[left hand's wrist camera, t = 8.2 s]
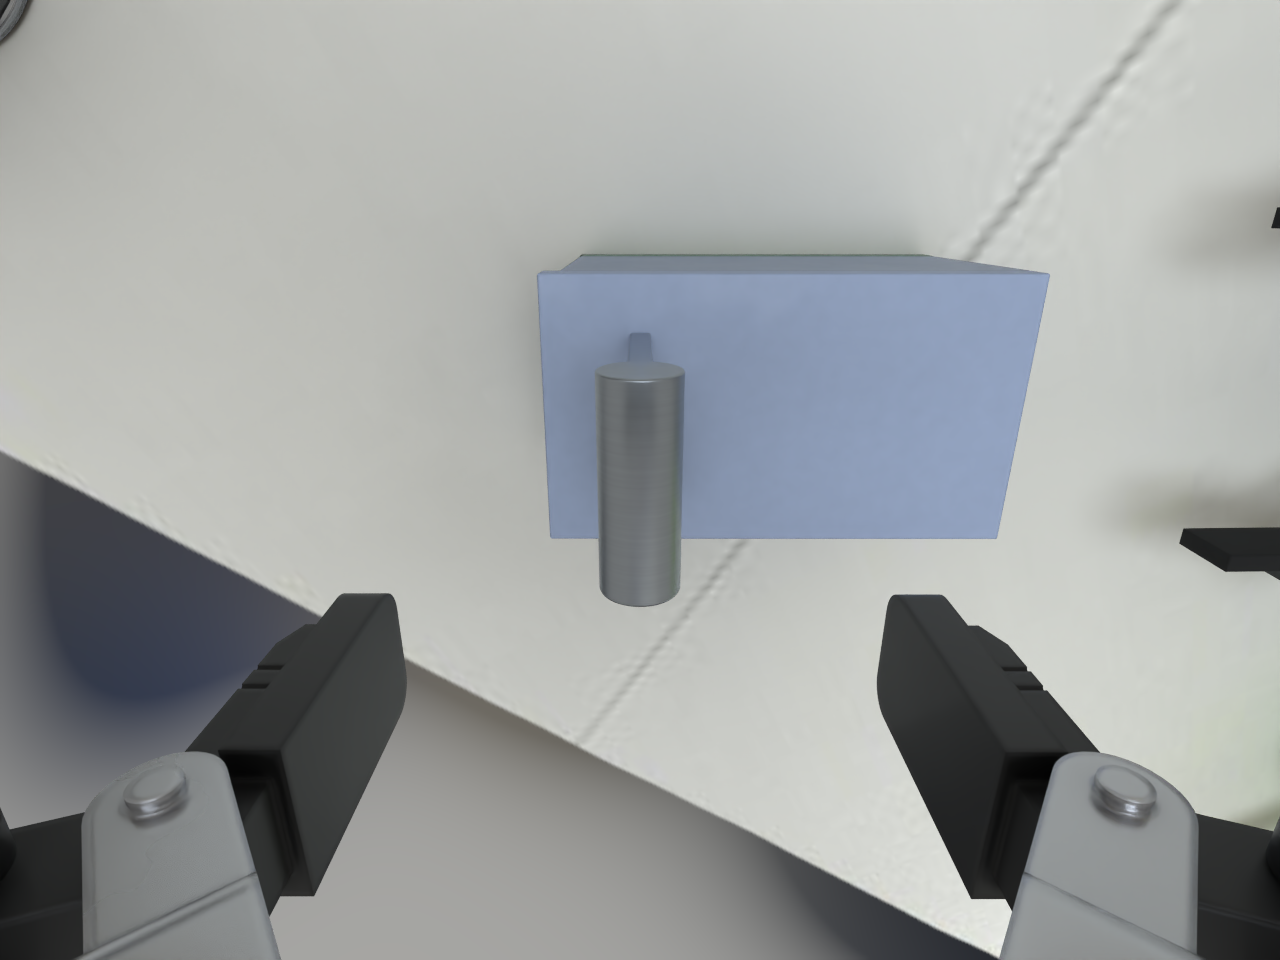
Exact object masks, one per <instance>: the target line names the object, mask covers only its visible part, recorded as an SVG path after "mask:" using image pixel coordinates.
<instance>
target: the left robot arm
mask: <svg viewBox="0 0 1280 960" xmlns="http://www.w3.org/2000/svg"><path fill="white" fill-rule="evenodd" d="M26 3H27V0H0V41H1V40H2V39H3V38H4V37H5V36H6V35H7V34H8V33H9V32H10V31H11V30H12V29H13V27H14V26H15V25H16V23H17V22H18V20H19V18H20V16H21V15H22V13H23V10H24V8H25V5H26ZM406 686H407V677H406V669H405V661H404V654H403V647H402V640H401V633H400V626H399V619H398V612H397V606H396V602H395V600H394V597H393V596H392V595H391V594H388V593H344V594H341V595H340V596H339V597H338V598H337V599H336V600H335V601H334V603H333V604H332V605H331V607H330V608H329V609H328V610H327V612H326V613H325V614H324V615H323V617H322V618H321V619H320V621H319V622H318V623H317V624H306V625H304V626H303V627H301V628H299V629H298V630H296V631H295V632H293V633H292V634H290V635H289V636H287V637H286V638H284V639H282V640H281V641H279V642H278V643H277V644H276V645H275V646H274V647H273V648H272V649H271V651H270V652H269V653H268V654H267V655H266V656H265V658H264V659H263V660H262V661H261V662H260V663H259V665H258V669H257V670H254V671H253V672H252V673H251V674H250V675H249V677H248V678H247V679H246V680H245V681H244V682H243V684H242V689H238V690H237V691H236V692H235V693H234V694H233V695H232V697H231V698H230V699H229V700H228V701H227V702H226V704H225V705H224V706H223V707H222V708H221V710H220V711H219V712H218V713H217V714H216V715H215V717H214V718H213V719H212V720H211V721H210V723H209V724H208V725H207V726H206V727H205V728H204V730H203V731H202V732H201V733H200V734H199V736H198V737H197V738H196V739H195V740H194V741H193V743H192V744H191V745H190V746H189V747H188V749H187V750H186V751H185V752H182V753H175V754H171V755H167V756H163V757H160V758H157V759H154V760H151V761H149V762H146V763H144V764H142V765H140V766H138V767H136V768H134V769H132V770H130V771H128V772H126V773H125V774H123V775H122V776H120V777H118V778H117V779H116V780H114V781H113V782H111V783H110V784H109V785H108V786H106V787H105V788H104V789H103V790H102V791H101V792H100V793H99V794H98V795H97V796H96V797H95V798H94V799H93V800H92V802H91V803H90V805H89V806H88V808H87V809H86V811H85V812H84V813H80V814H76V815H71V816H67V817H63V818H58V819H54V820H49V821H45V822H41V823H37V824H32V825H28V826H23V827H19V828H15V829H10V830H9V827H8V825H7V823H6V820H5V818H4V816H3V813H2V811H1V809H0V960H281V957H280V954H279V950H278V947H277V943H276V939H275V936H274V932H273V929H272V925H271V922H270V918H269V916H270V915H271V913H272V911H273V909H274V907H275V905H276V903H277V901H278V899H279V897H280V896H314V895H315V893H316V891H317V889H318V887H319V885H320V883H321V881H322V879H323V876H324V874H325V872H326V870H327V868H328V866H329V864H330V862H331V860H332V858H333V855H334V853H335V851H336V849H337V847H338V845H339V843H340V841H341V839H342V837H343V835H344V833H345V830H346V828H347V826H348V824H349V822H350V820H351V818H352V816H353V814H354V812H355V809H356V807H357V805H358V803H359V801H360V799H361V797H362V795H363V793H364V791H365V789H366V786H367V784H368V782H369V780H370V778H371V776H372V774H373V772H374V770H375V768H376V766H377V763H378V761H379V759H380V757H381V755H382V753H383V751H384V749H385V747H386V745H387V742H388V740H389V738H390V736H391V734H392V732H393V730H394V728H395V726H396V724H397V722H398V719H399V717H400V715H401V713H402V710H403V706H404V702H405V697H406ZM877 694H878V701H879V705H880V709H881V712H882V715H883V717H884V720H885V722H886V724H887V726H888V728H889V730H890V732H891V734H892V736H893V738H894V740H895V742H896V744H897V746H898V749H899V751H900V753H901V755H902V757H903V759H904V761H905V763H906V765H907V767H908V769H909V771H910V773H911V775H912V777H913V780H914V782H915V784H916V786H917V788H918V790H919V792H920V794H921V796H922V798H923V800H924V802H925V804H926V806H927V808H928V811H929V813H930V815H931V817H932V819H933V821H934V823H935V825H936V827H937V829H938V831H939V833H940V835H941V837H942V840H943V842H944V844H945V846H946V848H947V850H948V852H949V854H950V856H951V858H952V860H953V862H954V864H955V866H956V868H957V871H958V873H959V875H960V877H961V879H962V881H963V883H964V885H965V887H966V889H967V891H968V893H969V895H970V897H971V899H1006V901H1007V903H1008V905H1009V906H1010V908H1011V910H1012V914H1011V918H1010V922H1009V925H1008V929H1007V932H1006V936H1005V939H1004V943H1003V947H1002V950H1001V954H1000V957H999V960H1280V818H1279V820H1278V822H1277V825H1276V827H1275V829H1274V831H1269V830H1265V829H1261V828H1256V827H1252V826H1247V825H1243V824H1239V823H1234V822H1230V821H1226V820H1221V819H1217V818H1213V817H1208V816H1204V815H1200V814H1197V813H1195V811H1194V809H1193V808H1192V806H1191V805H1190V803H1189V802H1188V800H1187V799H1186V798H1185V797H1184V796H1183V795H1182V794H1181V793H1180V792H1179V791H1178V790H1177V789H1176V788H1175V787H1174V786H1173V785H1171V784H1170V783H1169V782H1167V781H1166V780H1164V779H1163V778H1162V777H1160V776H1158V775H1157V774H1155V773H1154V772H1152V771H1150V770H1148V769H1146V768H1144V767H1142V766H1140V765H1138V764H1136V763H1134V762H1131V761H1129V760H1126V759H1123V758H1120V757H1117V756H1113V755H1109V754H1105V753H1100V752H1099V751H1098V750H1097V748H1096V747H1095V746H1094V745H1093V744H1092V743H1091V741H1090V740H1089V739H1088V738H1087V737H1086V736H1085V734H1084V733H1083V732H1082V731H1081V730H1080V729H1079V727H1078V726H1077V725H1076V724H1075V723H1074V722H1073V720H1072V719H1071V718H1070V717H1069V716H1068V714H1067V713H1066V712H1065V711H1064V710H1063V709H1062V707H1061V706H1060V705H1059V704H1058V703H1057V702H1056V700H1055V699H1054V698H1053V697H1052V696H1051V695H1050V693H1049V692H1048V691H1044V690H1043V685H1042V684H1041V683H1040V682H1039V681H1038V679H1037V678H1036V677H1035V676H1034V675H1033V674H1032V672H1031V671H1027V666H1026V665H1025V664H1024V663H1023V662H1022V661H1021V659H1020V658H1019V657H1018V656H1017V655H1016V654H1015V652H1014V651H1013V650H1012V649H1011V648H1010V647H1009V645H1008V644H1006V643H1004V642H1003V641H1001V640H1000V639H998V638H997V637H995V636H994V635H992V634H991V633H989V632H987V631H986V630H984V629H983V628H981V627H980V626H968V625H967V624H966V623H965V621H964V620H963V619H962V618H961V616H960V615H959V614H958V613H957V611H956V610H955V609H954V608H953V606H952V605H951V604H950V603H949V601H948V600H947V599H946V598H945V597H944V596H942V595H893V596H892V597H891V598H890V600H889V603H888V606H887V612H886V619H885V625H884V632H883V639H882V646H881V653H880V660H879V667H878V674H877Z"/></svg>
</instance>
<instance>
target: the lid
mask: <svg viewBox="0 0 1280 960" xmlns="http://www.w3.org/2000/svg"><path fill="white" fill-rule="evenodd" d="M1049 277H1050V274H1048V273H1042V272H1035V271H542V272H540V273H538V275H537V282H538V302H539V322H540V342H541V362H542V381H543V401H544V421H545V441H546V461H547V481H548V500H549V520H550V537H551V538H599V578H600V590H601V592H602V593H603V595H604V596H605V597H606V598H608V599H609V600H611V601H613V602H615V603H618V604H622V605H626V606H634V607H646V606H654V605H658V604H662V603H664V602H667V601H669V600H670V599H672V598H673V597H675V596H676V594H677V593H678V591H679V589H680V568H681V539H996V538H997V535H998V530H999V525H1000V520H1001V515H1002V510H1003V505H1004V500H1005V495H1006V490H1007V485H1008V480H1009V475H1010V470H1011V465H1012V461H1013V456H1014V451H1015V446H1016V441H1017V436H1018V431H1019V426H1020V421H1021V416H1022V411H1023V406H1024V401H1025V396H1026V391H1027V386H1028V381H1029V376H1030V371H1031V366H1032V361H1033V356H1034V351H1035V346H1036V341H1037V337H1038V332H1039V327H1040V322H1041V317H1042V312H1043V307H1044V302H1045V297H1046V292H1047V287H1048V282H1049Z"/></svg>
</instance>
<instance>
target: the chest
mask: <svg viewBox="0 0 1280 960" xmlns="http://www.w3.org/2000/svg"><path fill="white" fill-rule="evenodd" d="M561 271H1029V270H1022V269H1015V268H1008V267H1001V266H994V265H987V264H981V263H974V262H967V261H960V260H953V259H946V258H940V257H933V256H929V255H581V256H580V257H579V258H578V259H576V260H575V261H574V262H572V263H571V264H569V265H568V266H566V267H565V268H564V269H562V270H561Z"/></svg>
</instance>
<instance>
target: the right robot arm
mask: <svg viewBox="0 0 1280 960" xmlns="http://www.w3.org/2000/svg"><path fill="white" fill-rule="evenodd" d="M1271 228H1280V207H1277V210H1276V214H1275V217H1274V221H1273V224H1272V227H1271ZM1179 544H1181V545H1183V546H1184V547H1186V548H1188V549H1189V550H1191V551H1193V552H1194V553H1196V554H1197V555H1199V556H1201V557H1202V558H1204V559H1206V560H1207V561H1209V562H1211V563H1212V564H1214V565H1215V566H1217V567H1219V568H1220V569H1222V570H1224V571H1225V572H1238V571H1265V572H1267V573H1268V574H1270V575H1272V576H1274V577H1275V578H1277V579H1279V580H1280V527H1278V528H1188V529H1183V532H1182V536H1181V539H1180V543H1179Z"/></svg>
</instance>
